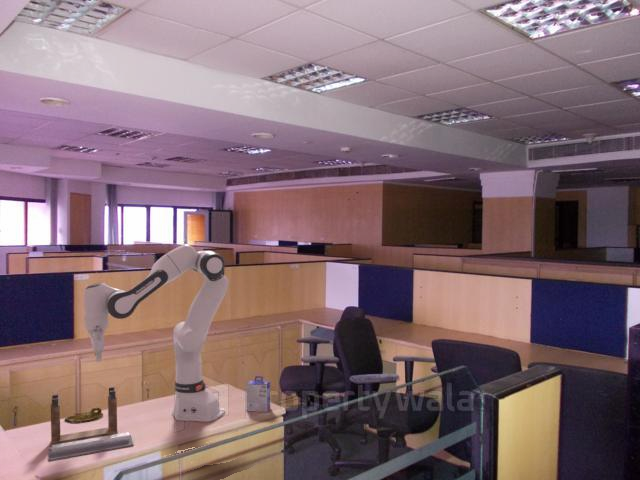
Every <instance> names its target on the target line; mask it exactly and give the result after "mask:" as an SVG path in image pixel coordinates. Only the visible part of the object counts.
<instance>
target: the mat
mask: <svg viewBox="0 0 640 480" xmlns="http://www.w3.org/2000/svg"><path fill="white" fill-rule="evenodd" d="M129 435H130V441H129V442H124V443H118V444H113V445H107V446H101V447H96V448H90V449H85V450H79V451H73V452H68V453H62V454H56V455H52V447H51V448H49V452H48V462H54V461H58V460H63V459H64V460H65V459H68V458H75V457H79V456H80V457H81V456H87V455H90V454H96V453H101V452H107V451H112V450H118V449H119V450H120V449H123V448H124V449H125V448H129V447H134V441H133V438H132V434H129Z"/></svg>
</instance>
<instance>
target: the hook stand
mask: <svg viewBox="0 0 640 480" xmlns="http://www.w3.org/2000/svg"><path fill="white" fill-rule="evenodd" d="M51 396H52V397H51V398H52V399H51V404H50V434H51V437H50V438H51V440H50V441H51V442H50V443H51V445H50V447H51V448H52V445H56V444H62V443H67V442H73V441H79V440H85V439H91V438H97V437H103V436H108V435H114V434H119V433H118V412H117V411H118V406H117V404H118V402H117V400H118V399H117V394H116V390H115V386H109V387H108V396H107V413H108V414H107V417H108V419H107V421H108V422H107V423H108V427H103V428H97V429H91V430H85V431H77V432H72V433H67V434H61V405H60V404H61V403H59V394H57V393H56V394H52V395H51Z"/></svg>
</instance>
